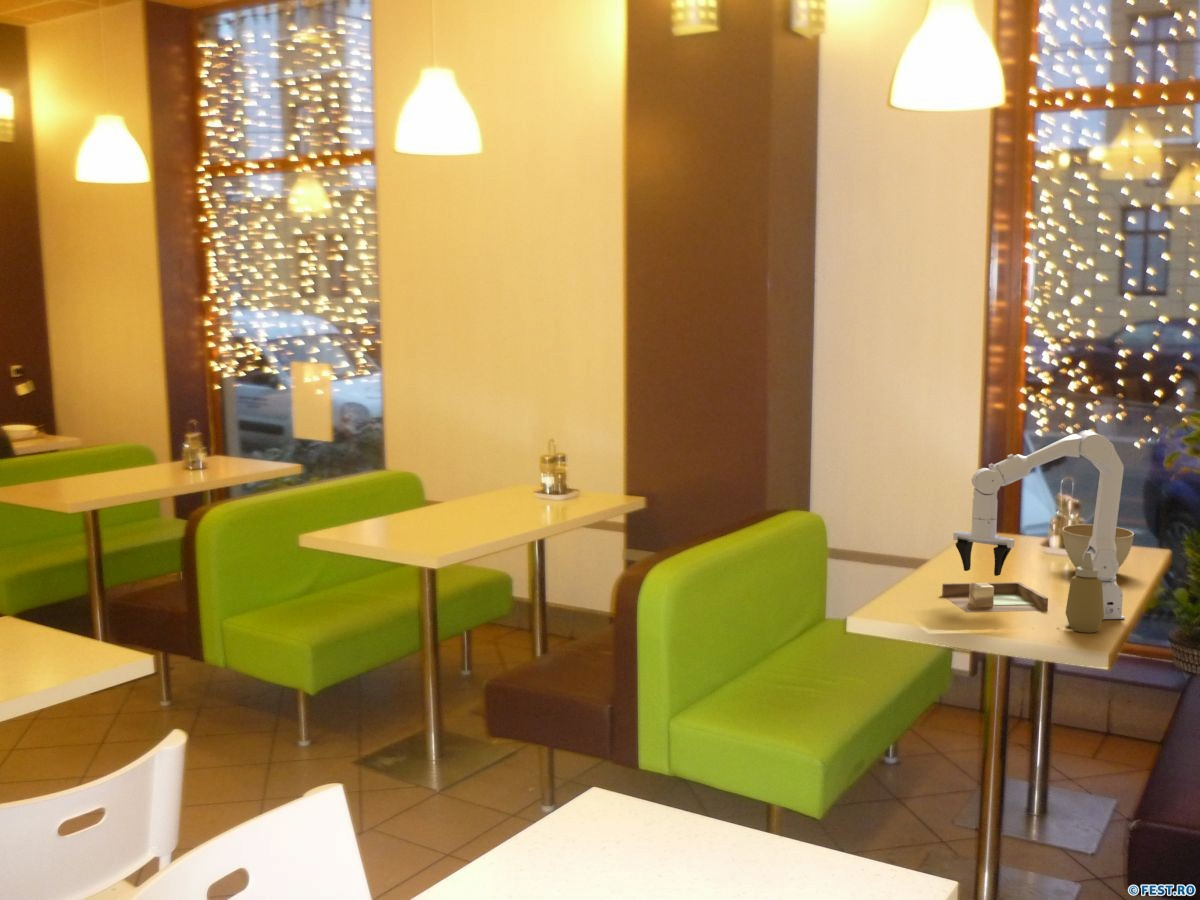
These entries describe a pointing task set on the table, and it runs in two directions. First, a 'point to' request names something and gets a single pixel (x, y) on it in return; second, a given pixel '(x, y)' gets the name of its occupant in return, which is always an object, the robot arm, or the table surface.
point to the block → (981, 594)
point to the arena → (998, 597)
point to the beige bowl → (1079, 540)
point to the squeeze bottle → (1085, 598)
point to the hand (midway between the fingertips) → (982, 572)
